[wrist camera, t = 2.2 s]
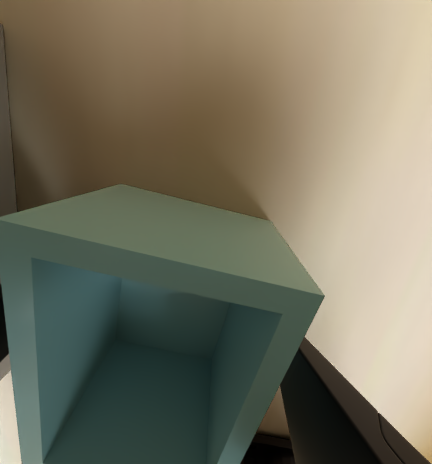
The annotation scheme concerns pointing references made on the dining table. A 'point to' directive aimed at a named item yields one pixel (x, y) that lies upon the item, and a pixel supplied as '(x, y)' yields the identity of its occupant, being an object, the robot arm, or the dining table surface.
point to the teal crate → (147, 327)
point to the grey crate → (5, 162)
